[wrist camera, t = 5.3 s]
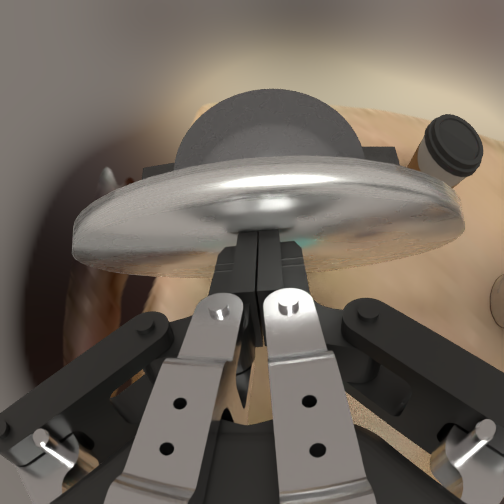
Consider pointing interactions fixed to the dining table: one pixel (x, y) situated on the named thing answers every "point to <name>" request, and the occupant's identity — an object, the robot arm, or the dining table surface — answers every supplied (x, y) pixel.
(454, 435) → the robot arm
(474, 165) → the coffee cup
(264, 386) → the dining table surface
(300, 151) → the cooking pot
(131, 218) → the lid
